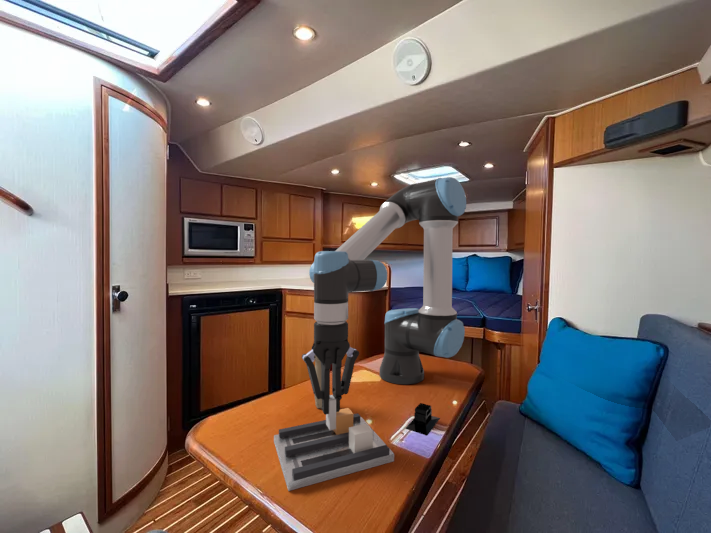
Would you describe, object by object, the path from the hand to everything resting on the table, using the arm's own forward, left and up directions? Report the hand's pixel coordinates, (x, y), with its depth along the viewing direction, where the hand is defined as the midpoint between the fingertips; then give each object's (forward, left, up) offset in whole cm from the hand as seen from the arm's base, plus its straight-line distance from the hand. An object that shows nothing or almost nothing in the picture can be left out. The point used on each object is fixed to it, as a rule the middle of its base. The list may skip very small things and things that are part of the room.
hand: (330, 426), depth 71 cm
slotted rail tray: (+1, +4, -1) cm, 5 cm away
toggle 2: (-4, +8, -1) cm, 9 cm away
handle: (-3, -16, -3) cm, 16 cm away
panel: (+1, +4, -3) cm, 5 cm away
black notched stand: (-23, +2, -4) cm, 23 cm away
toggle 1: (-3, 0, -1) cm, 3 cm away
